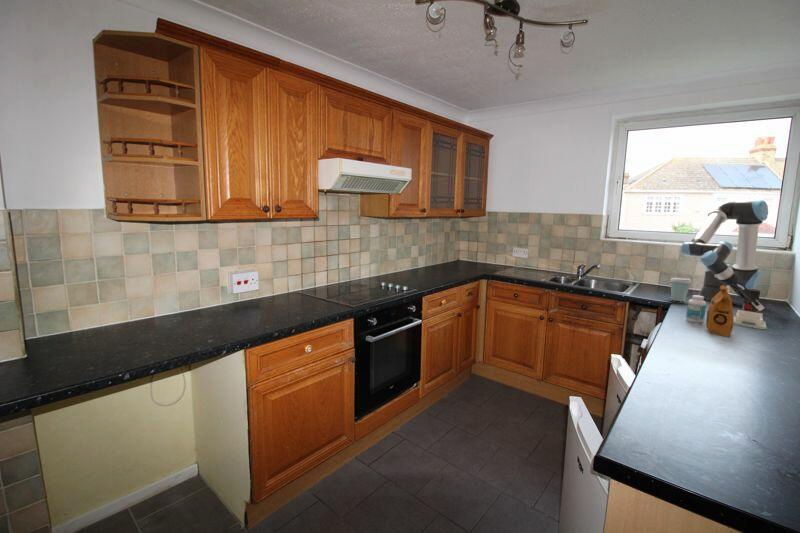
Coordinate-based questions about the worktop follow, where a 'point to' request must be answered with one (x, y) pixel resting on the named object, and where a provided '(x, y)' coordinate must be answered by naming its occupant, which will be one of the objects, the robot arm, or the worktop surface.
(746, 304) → the deodorant
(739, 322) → the cream square open box
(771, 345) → the worktop surface
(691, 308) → the pill bottle
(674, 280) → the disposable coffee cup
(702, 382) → the worktop surface
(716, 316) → the coffee package
